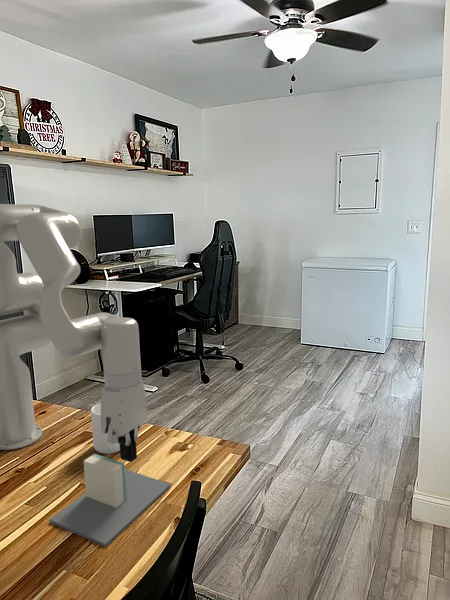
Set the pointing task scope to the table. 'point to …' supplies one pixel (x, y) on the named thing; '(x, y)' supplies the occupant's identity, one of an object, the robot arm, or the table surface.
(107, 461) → the cream and teal block
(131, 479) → the mat
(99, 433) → the mug
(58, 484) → the table surface
